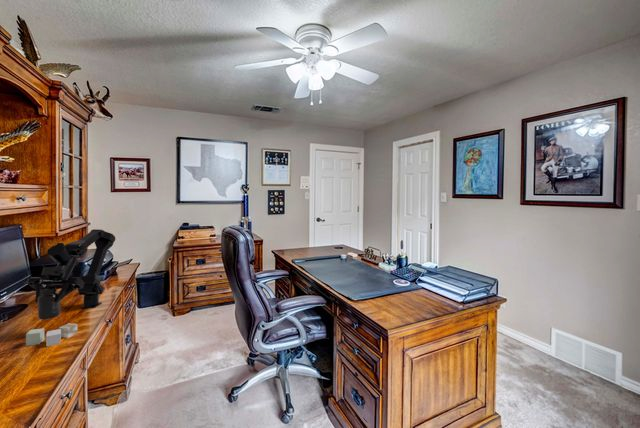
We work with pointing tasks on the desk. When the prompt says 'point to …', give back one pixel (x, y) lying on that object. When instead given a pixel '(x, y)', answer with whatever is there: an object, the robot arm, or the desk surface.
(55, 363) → the desk surface
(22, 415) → the desk surface
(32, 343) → the sage block
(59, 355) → the desk surface
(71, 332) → the birch block
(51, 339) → the grey plastic block
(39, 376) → the desk surface
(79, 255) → the robot arm
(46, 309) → the supplement bottle
